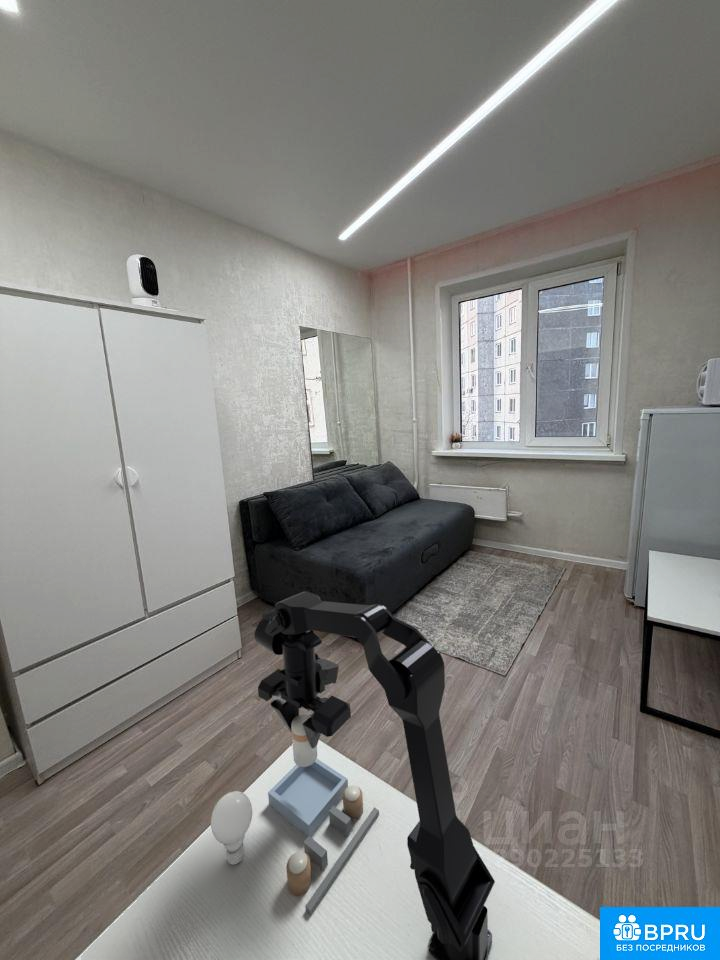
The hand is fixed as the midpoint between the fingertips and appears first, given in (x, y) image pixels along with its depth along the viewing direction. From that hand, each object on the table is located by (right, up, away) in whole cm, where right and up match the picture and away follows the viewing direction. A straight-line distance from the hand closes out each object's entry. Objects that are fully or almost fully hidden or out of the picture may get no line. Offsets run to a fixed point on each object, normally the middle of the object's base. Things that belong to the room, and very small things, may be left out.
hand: (305, 740), depth 70 cm
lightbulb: (-10, -14, -8) cm, 19 cm away
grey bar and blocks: (+6, -13, -7) cm, 16 cm away
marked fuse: (0, -3, 0) cm, 3 cm away
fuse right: (+9, -12, -1) cm, 15 cm away
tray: (+1, -12, +2) cm, 12 cm away
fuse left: (+1, -14, -12) cm, 18 cm away
